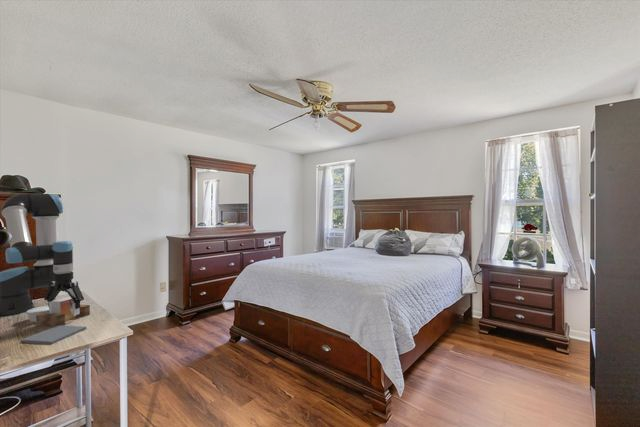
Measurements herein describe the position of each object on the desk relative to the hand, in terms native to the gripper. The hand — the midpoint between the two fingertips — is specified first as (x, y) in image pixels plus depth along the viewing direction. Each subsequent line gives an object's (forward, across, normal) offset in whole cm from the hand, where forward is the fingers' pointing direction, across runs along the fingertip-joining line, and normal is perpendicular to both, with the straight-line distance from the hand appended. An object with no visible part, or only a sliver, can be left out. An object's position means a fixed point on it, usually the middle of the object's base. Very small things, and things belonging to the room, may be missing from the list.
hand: (64, 314), depth 145 cm
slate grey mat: (+3, +14, -16) cm, 21 cm away
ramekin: (+3, -13, 0) cm, 13 cm away
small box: (+3, 0, 0) cm, 3 cm away
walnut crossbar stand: (+3, 0, 0) cm, 3 cm away
